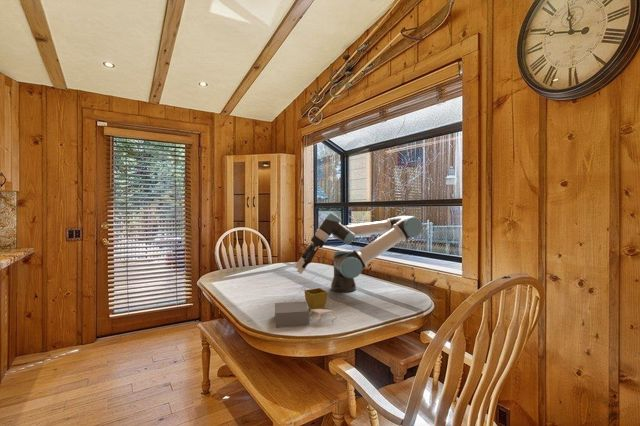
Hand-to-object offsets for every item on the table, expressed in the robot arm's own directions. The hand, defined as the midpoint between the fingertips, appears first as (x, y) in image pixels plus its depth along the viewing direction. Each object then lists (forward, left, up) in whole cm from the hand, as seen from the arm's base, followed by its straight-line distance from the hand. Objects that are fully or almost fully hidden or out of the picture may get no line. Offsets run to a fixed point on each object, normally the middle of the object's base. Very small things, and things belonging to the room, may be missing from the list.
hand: (297, 270), depth 171 cm
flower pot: (-7, +21, -16) cm, 27 cm away
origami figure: (-7, +38, -16) cm, 42 cm away
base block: (+6, +34, -15) cm, 37 cm away
